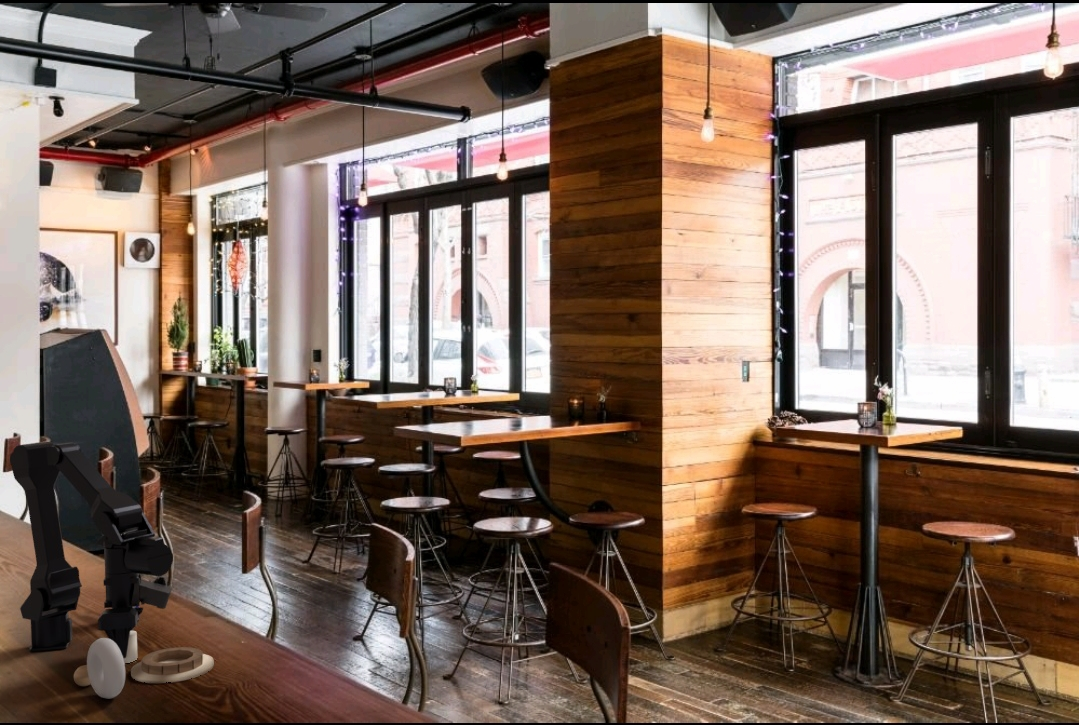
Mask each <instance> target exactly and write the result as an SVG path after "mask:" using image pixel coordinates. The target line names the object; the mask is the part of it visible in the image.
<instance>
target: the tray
mask: <svg viewBox="0 0 1079 725" xmlns="http://www.w3.org/2000/svg"><path fill="white" fill-rule="evenodd" d="M214 667H215V665H214V658H213V657H212V656H211V655H208V654H205V653H204V652H203V650H201V649H199V648H197V647H189V646H188V647H187V646H183V647H180V646H178V647H167V648H163V649H159V650H155V651H151V652H150V653H148V654H146V655H143V657H142V660H141V661H138V662H137V663H136V664H135V665H133V666H132V667H131V668H130V676H131V678H132V679H133V680H134V679H135V681H136V682H137V681H138V682H141V683H144V682H145V683H147V684H168V682H171V683H177V682H183V681H188V680H192V679H195V678H197V677H200V675H201V676H203V675H205V674H207V673H209V672H210V671H212V669H213V668H214ZM208 671H209V672H208ZM191 678H192V679H191ZM166 682H167V683H166ZM145 683H144V684H145Z"/></svg>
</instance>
